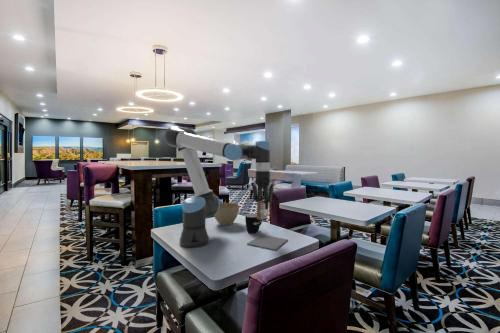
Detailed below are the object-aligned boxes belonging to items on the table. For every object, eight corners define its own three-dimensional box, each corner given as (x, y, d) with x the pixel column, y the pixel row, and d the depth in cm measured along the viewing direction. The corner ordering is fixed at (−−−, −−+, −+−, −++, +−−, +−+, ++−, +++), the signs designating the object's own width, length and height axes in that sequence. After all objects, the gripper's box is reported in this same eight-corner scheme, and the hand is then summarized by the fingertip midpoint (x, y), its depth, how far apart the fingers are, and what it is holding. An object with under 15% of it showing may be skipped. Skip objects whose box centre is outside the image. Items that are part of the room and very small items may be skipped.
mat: (247, 244, 128) (247, 243, 128) (261, 235, 142) (261, 234, 142) (275, 250, 120) (275, 249, 120) (287, 240, 134) (287, 239, 134)
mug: (252, 235, 142) (252, 218, 141) (242, 231, 148) (242, 215, 148) (266, 230, 150) (266, 214, 150) (256, 227, 157) (256, 211, 156)
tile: (257, 219, 128) (257, 201, 127) (264, 215, 135) (264, 199, 135) (260, 219, 127) (260, 202, 126) (268, 215, 134) (268, 199, 134)
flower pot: (206, 223, 165) (206, 205, 164) (228, 218, 177) (228, 201, 177) (222, 229, 152) (222, 210, 151) (244, 224, 164) (244, 206, 163)
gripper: (246, 170, 130) (247, 214, 131) (272, 171, 123) (272, 218, 124) (253, 169, 137) (253, 211, 138) (278, 170, 129) (278, 214, 130)
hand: (262, 214), depth 131 cm, fingers closed on tile, 2 cm apart
